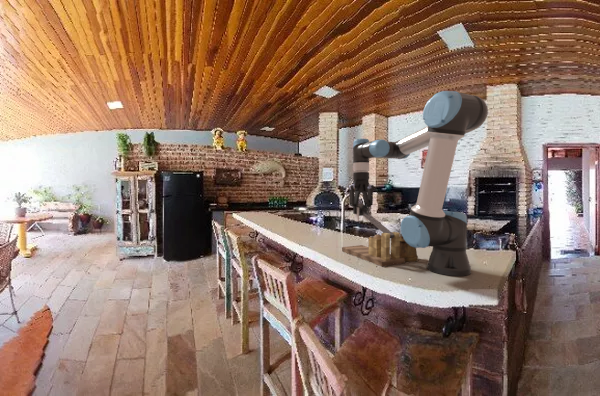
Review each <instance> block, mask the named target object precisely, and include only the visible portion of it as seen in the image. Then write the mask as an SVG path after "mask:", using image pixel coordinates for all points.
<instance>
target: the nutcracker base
mask: <svg viewBox="0 0 600 396" xmlns="http://www.w3.org/2000/svg"><path fill="white" fill-rule="evenodd" d="M391 232H392V233H393V234H394V238H390V234H388V233H383V232H381V234H380V235H381V239H373V238H374V236H371V237H368V246H366V245H362V244H361V245H359V244H358V245H352V246H342V247H341V252H343V253H345V254H349V255H351V256H353V257H356V258H358V259H362V260H364V261H367V262H369V263H372V264H373V265H377V266H379V267H388V266H396V265H402V264H405V263H406V261H405V259H404V258H401V257H399V250H400V234H401V232H397V231H391Z"/></svg>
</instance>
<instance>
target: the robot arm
mask: <svg viewBox="0 0 600 396" xmlns="http://www.w3.org/2000/svg"><path fill="white" fill-rule="evenodd" d="M422 111H423V112H422V119H423V120H424V124H425V125H426V126H424V127H423V128H421V129H419V130H417V131H415V132H413V133H411V134H409V135H407V136H405V137H403V138H401V139H399V140H395V141H387V140H385V139H382V138H381V139H375V140H370V139H368V138H355V139H354V140H353V146H352V155H353V156H352V159H353V160H352V162H353V163H352V169H353V170H352V171H353V173H352V179H353V183H352V184H349V185H348V186H347V188H348V190H349V191H348V193H349V194H348V195H349V197H348V199H349V201H348V202H349V203H348V205H349V207H352V213H353V215H354V217H353V219H354V222H359V221H360V216H359V207H358V204H359V200H360V195H361V194H362V199H363V204H364V205H365V206H366V207H367V208H368V211H367V212H368V213H369V214H370V208H371V206H373V202H374V199H373V198H374V197H373V196H374V188H375V185H374V184H370V182H369V180H370V159H375V158H376V159H377V158H378V159H394V160H395V159H396V160H403V159H407V158H408V157H409V156H410V154H412V153H415V152H417V151H420V150H421V149H424V148H427V153H426V157H425V162H424V165H423V171H422V176H421V181H420V185H419V191H418V194H417V195H418V196H417V200H416V203H415V205H413V206H411V208H410V212H409V215H406V216H405V217H404V218H403V219H402V220H401V223H400V234H402V236H403V238H404V240H405V241H406V243H407V244H409V245H410V246H412V247H415V248H416V249H417V248H419V249H420V248H421V249H425V248H428V247H429V248H430V247H432V250H431V252H430V255H429V259H428V261H427V264H426V265H427V266H426V268H427V270H429V271H430V272H433V273H435V274H440V275H444V276H455V277H459V276H460V277H461V276H462V277H464V276H468V275H471V273H472V266H471V265H470V260H469V257H468V254H467V236H468V235H467V234H468V232H467V231H468V221H467V220H468V216H467V214H466V213H464V212H459V211H449V210H443V207H444V206H443V205H444V202H445V197H446V194H447V190H448V184H449V181H450V176H451V173H452V167H453V164H454V159H455V155H456V151H457V148H458V147H457V146H458V142H459V140H461V139H463V138H464V137H465V134H468V133H470V132H474V131H475V130H477V129H478V128H480V127H481V126H482V125H483V124H484V123H485V121H486V120H487V117H488V114H489V109H488V104H487V103H486V101H485V100H484V99H483V98H481V97H480V96H477V95H474V94H468V93H462V92H458V91H453V90H442V91H439V92H436V93H435V94H434V95H433V96H432V97H431V98H429V99H428V100H427V101H426V103H425V106H424V108H423V110H422ZM362 217H363V218H362V220H363V221H366V222H367V221H369V220H368V219H367V218H366V217H365V216H362Z"/></svg>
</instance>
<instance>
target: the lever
mask: <svg viewBox="0 0 600 396" xmlns="http://www.w3.org/2000/svg"><path fill="white" fill-rule="evenodd" d="M358 207H359V217H363V216H365V217H366V218H367V219H368V221H369V222H370V223H372V225H373V226H375V227H376V229H378V230H379V231H381V233H388V234H390V239H391V238H394V234H393V233H392V232H393V231H391V230H390V229H388V228H387V227H386V226H385V225H383V223H381V222H380V221H379V220H377V219H376V218H375V217H374V216H373V215H372V214H370V212H369V213H368V212H367V211H368V208H367V207H366V206H365V205H364V202H363V203H358Z"/></svg>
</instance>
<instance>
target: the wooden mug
mask: <svg viewBox="0 0 600 396" xmlns="http://www.w3.org/2000/svg"><path fill="white" fill-rule="evenodd" d="M417 254H418V251H417V248H415V247H412V246H410V245H409V244H407V243H406V241H405V240H404V238H403V236H402V234H401V233H400V250H399V257H401V258H404V259H405V263H406V262H408V263H414V262H418V261H419V257H418V255H417Z"/></svg>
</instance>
